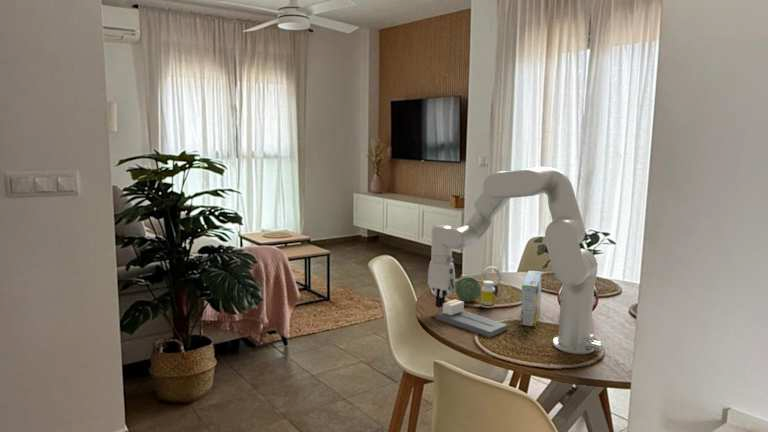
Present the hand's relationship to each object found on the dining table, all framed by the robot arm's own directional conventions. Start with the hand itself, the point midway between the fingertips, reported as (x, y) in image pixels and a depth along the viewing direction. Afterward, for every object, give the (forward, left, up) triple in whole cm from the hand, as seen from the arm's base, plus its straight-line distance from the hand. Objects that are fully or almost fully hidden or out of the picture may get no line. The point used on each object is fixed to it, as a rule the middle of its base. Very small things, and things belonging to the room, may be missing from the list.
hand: (440, 306), depth 194 cm
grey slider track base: (-14, 0, -3) cm, 15 cm away
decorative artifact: (+2, -19, -3) cm, 19 cm away
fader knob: (-6, 0, -1) cm, 6 cm away
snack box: (-24, -23, -3) cm, 34 cm away
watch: (+4, -38, -3) cm, 38 cm away
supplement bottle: (-6, -21, -3) cm, 22 cm away
